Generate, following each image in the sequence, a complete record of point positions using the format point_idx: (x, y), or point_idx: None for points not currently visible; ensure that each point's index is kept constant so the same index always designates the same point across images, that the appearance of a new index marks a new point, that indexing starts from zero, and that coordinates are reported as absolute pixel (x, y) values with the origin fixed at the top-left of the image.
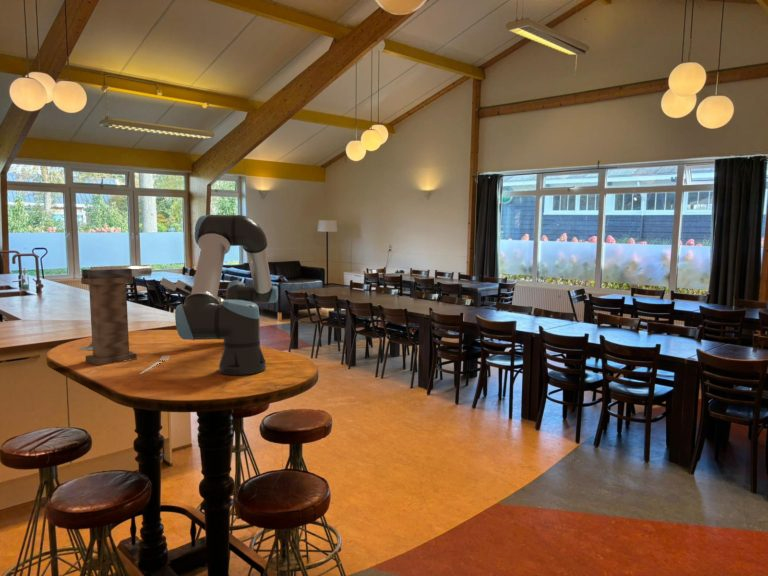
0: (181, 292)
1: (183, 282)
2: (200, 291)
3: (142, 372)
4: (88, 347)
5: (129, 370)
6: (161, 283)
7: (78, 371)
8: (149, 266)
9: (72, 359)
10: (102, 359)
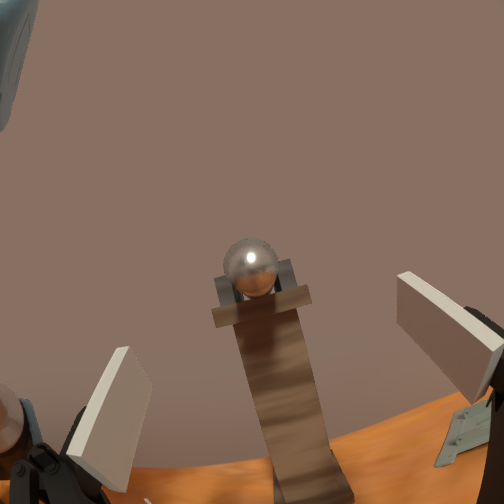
0: (489, 454)
1: (103, 377)
2: None
3: (146, 501)
4: (461, 416)
5: (184, 498)
6: (399, 320)
7: (253, 459)
8: (229, 252)
9: (366, 439)
10: (273, 471)
